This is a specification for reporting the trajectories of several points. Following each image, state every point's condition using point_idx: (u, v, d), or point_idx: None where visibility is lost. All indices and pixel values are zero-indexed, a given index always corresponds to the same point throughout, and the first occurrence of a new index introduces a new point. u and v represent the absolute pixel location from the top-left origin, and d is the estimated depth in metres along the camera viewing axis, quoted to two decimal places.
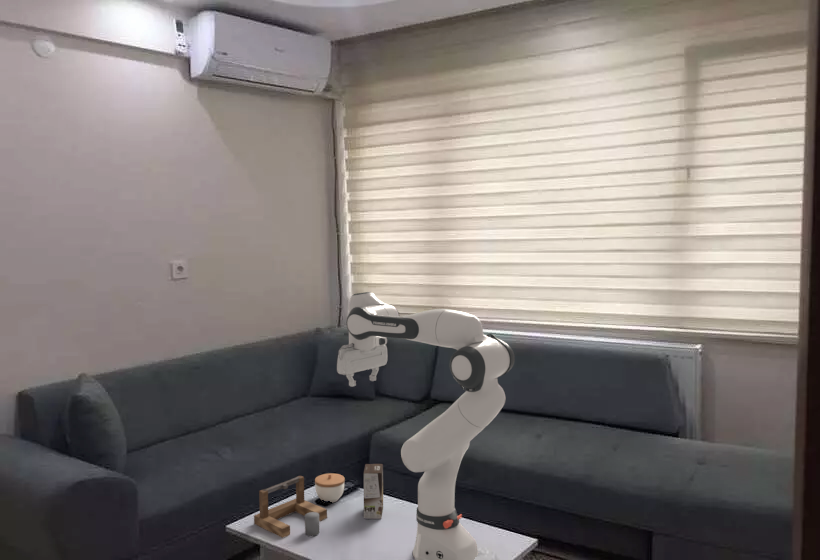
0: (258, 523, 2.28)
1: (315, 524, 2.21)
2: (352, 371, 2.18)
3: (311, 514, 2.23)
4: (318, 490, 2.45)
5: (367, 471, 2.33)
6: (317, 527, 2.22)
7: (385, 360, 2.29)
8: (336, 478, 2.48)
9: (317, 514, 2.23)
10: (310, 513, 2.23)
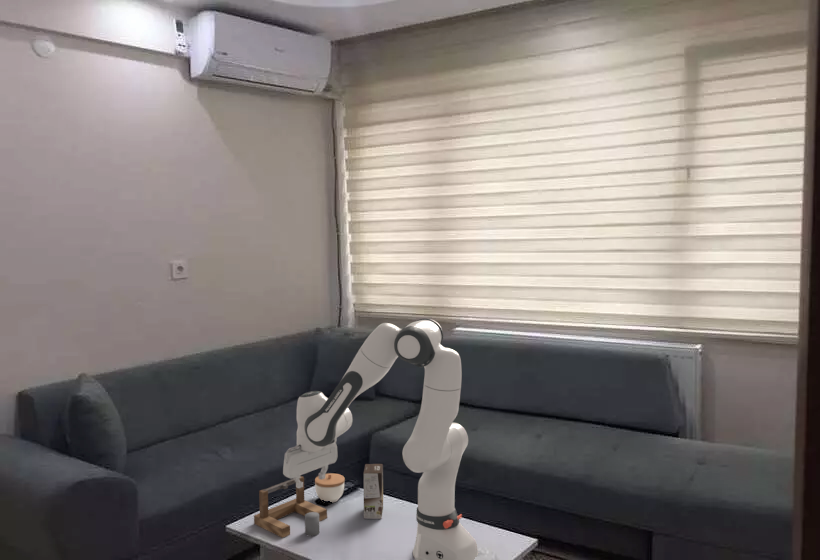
0: (258, 523, 2.28)
1: (315, 524, 2.21)
2: (299, 474, 2.15)
3: (311, 514, 2.23)
4: (318, 490, 2.45)
5: (367, 471, 2.33)
6: (317, 527, 2.22)
7: (335, 458, 2.26)
8: (336, 478, 2.48)
9: (317, 514, 2.23)
10: (310, 513, 2.23)
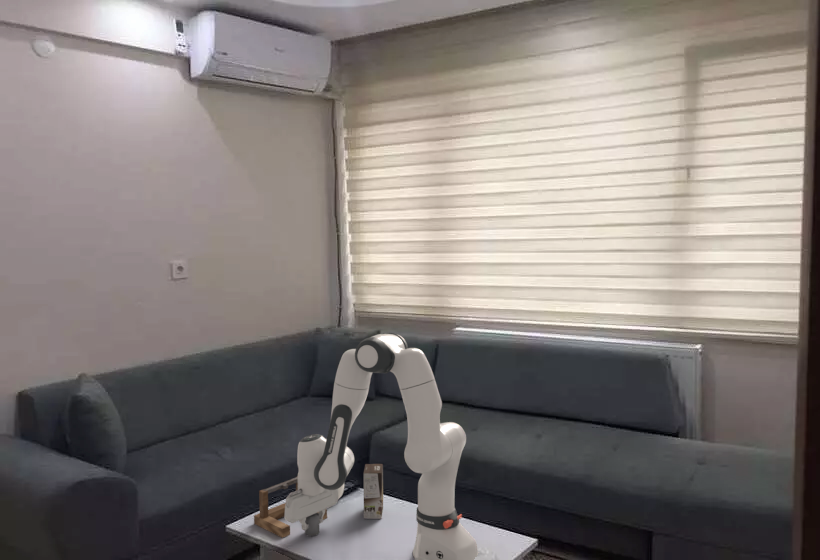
0: (258, 523, 2.28)
1: (315, 524, 2.21)
2: (300, 518, 2.16)
3: None
4: None
5: (367, 471, 2.33)
6: (317, 527, 2.22)
7: (336, 500, 2.28)
8: None
9: (317, 514, 2.23)
10: None
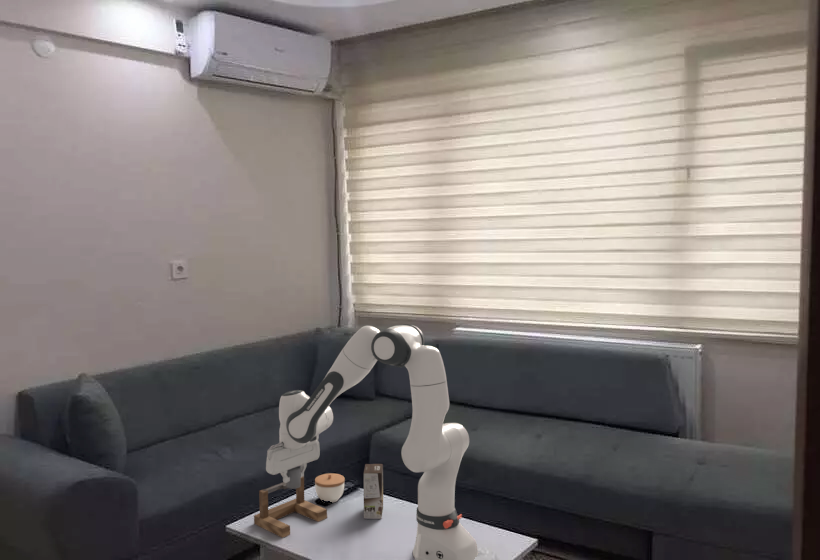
0: (258, 523, 2.28)
1: (296, 477, 2.26)
2: (281, 470, 2.22)
3: (292, 468, 2.28)
4: (318, 490, 2.45)
5: (367, 471, 2.33)
6: (298, 480, 2.27)
7: (317, 455, 2.33)
8: (336, 478, 2.48)
9: (298, 468, 2.28)
10: None
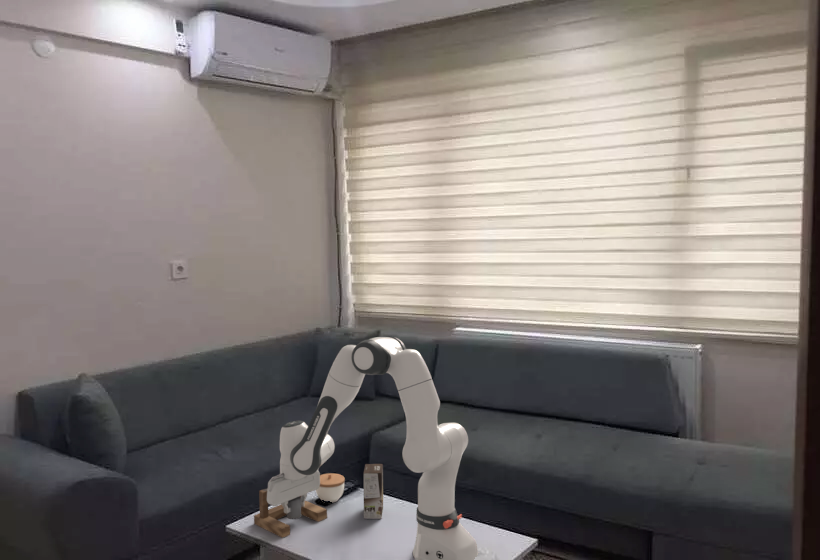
0: (258, 523, 2.28)
1: (297, 507, 2.27)
2: (282, 501, 2.23)
3: None
4: (318, 490, 2.45)
5: (367, 471, 2.33)
6: (299, 510, 2.28)
7: (317, 484, 2.34)
8: (336, 478, 2.48)
9: (299, 498, 2.29)
10: None
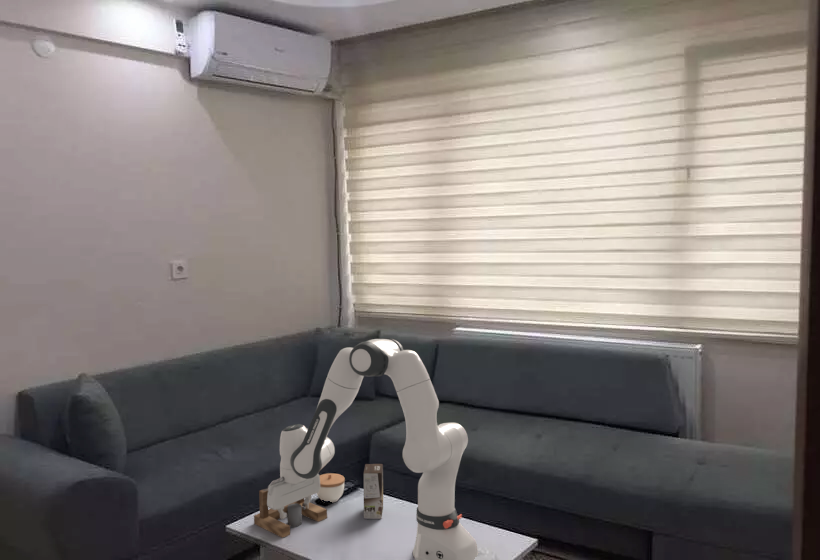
0: (258, 523, 2.28)
1: (297, 515, 2.27)
2: (282, 505, 2.23)
3: (293, 505, 2.30)
4: None
5: (367, 471, 2.33)
6: (299, 518, 2.28)
7: (318, 488, 2.34)
8: (336, 478, 2.48)
9: (299, 505, 2.30)
10: (292, 505, 2.30)
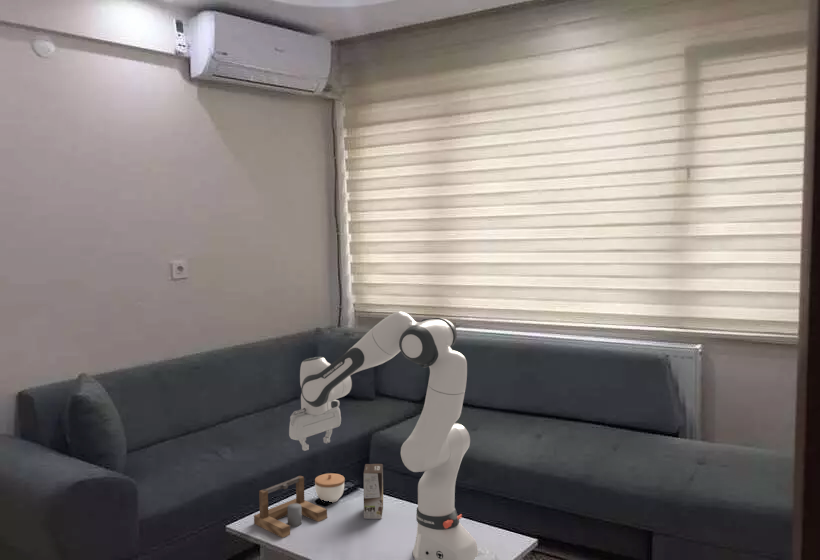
0: (258, 523, 2.28)
1: (297, 515, 2.27)
2: (304, 436, 2.22)
3: (293, 505, 2.30)
4: (318, 490, 2.45)
5: (367, 471, 2.33)
6: (299, 518, 2.28)
7: (338, 422, 2.34)
8: (336, 478, 2.48)
9: (299, 505, 2.30)
10: (292, 505, 2.30)
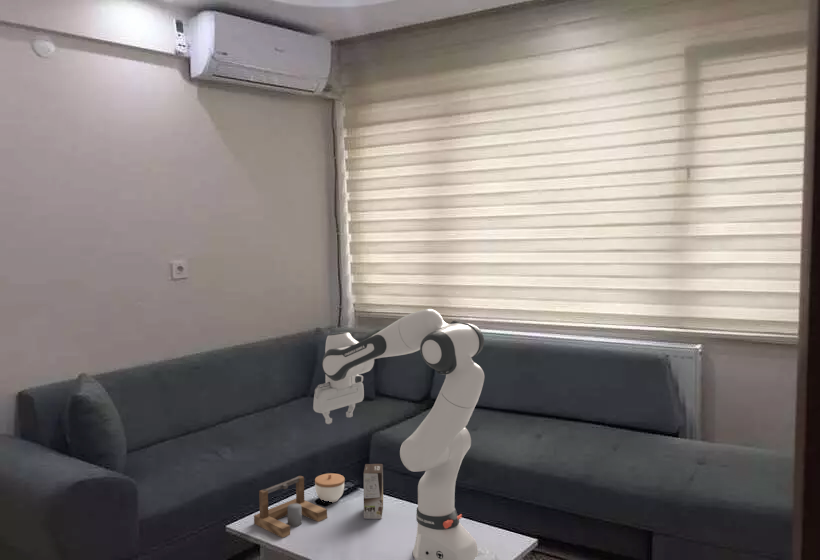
0: (258, 523, 2.28)
1: (297, 515, 2.27)
2: (328, 409, 2.24)
3: (293, 505, 2.30)
4: (318, 490, 2.45)
5: (367, 471, 2.33)
6: (299, 518, 2.28)
7: (361, 397, 2.35)
8: (336, 478, 2.48)
9: (299, 505, 2.30)
10: (292, 505, 2.30)
